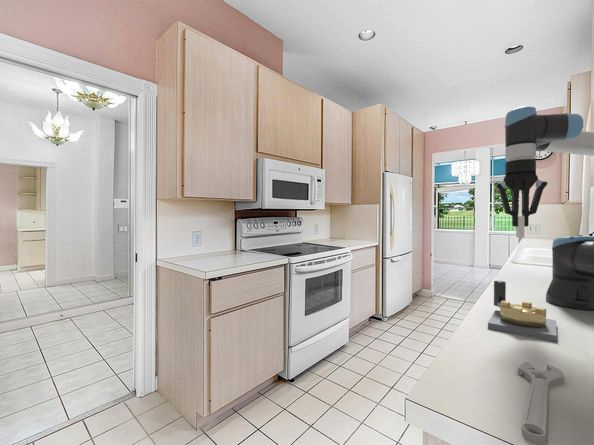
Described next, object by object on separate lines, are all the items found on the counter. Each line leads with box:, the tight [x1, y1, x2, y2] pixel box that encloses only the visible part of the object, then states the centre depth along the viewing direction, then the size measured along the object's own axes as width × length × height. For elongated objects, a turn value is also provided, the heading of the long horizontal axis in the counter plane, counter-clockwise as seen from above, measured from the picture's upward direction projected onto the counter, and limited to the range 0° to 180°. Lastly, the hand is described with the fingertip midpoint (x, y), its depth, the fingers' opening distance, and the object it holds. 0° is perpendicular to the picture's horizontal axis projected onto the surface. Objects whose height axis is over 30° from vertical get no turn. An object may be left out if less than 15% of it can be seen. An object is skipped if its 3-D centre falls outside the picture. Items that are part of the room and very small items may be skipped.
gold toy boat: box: [493, 280, 547, 327], centre depth 85 cm, size 18×10×8 cm, turn 173°
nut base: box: [487, 309, 558, 343], centre depth 83 cm, size 19×15×2 cm
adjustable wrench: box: [517, 361, 565, 444], centre depth 50 cm, size 25×6×2 cm, turn 134°
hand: (520, 237), depth 91 cm, fingers closed
